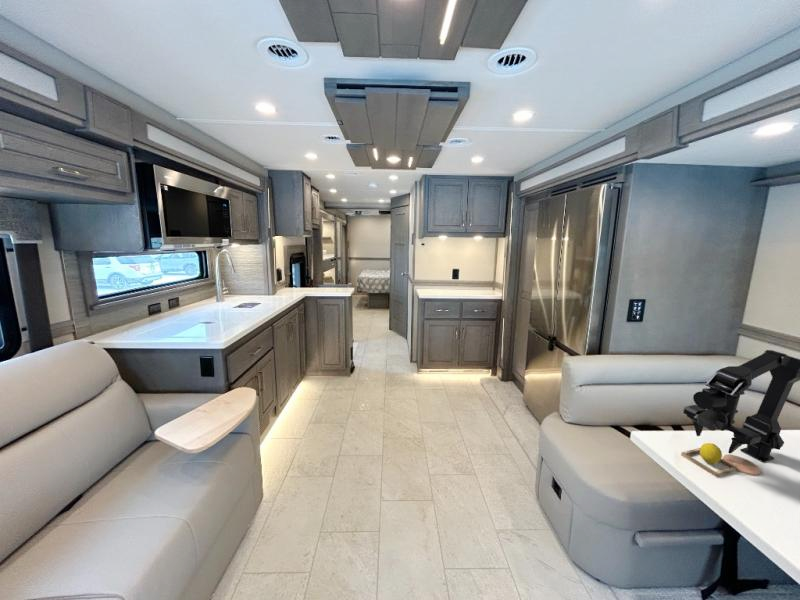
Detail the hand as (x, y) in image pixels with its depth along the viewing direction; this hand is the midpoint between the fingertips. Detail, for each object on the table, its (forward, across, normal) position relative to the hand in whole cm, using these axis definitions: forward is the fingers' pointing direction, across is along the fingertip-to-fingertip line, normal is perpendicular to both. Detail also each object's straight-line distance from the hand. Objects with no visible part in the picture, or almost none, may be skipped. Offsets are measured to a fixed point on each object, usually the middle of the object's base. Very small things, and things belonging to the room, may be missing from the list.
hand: (713, 444), depth 108 cm
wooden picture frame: (+8, 0, 0) cm, 8 cm away
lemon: (+8, 0, 0) cm, 8 cm away
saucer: (+8, +4, +10) cm, 13 cm away
